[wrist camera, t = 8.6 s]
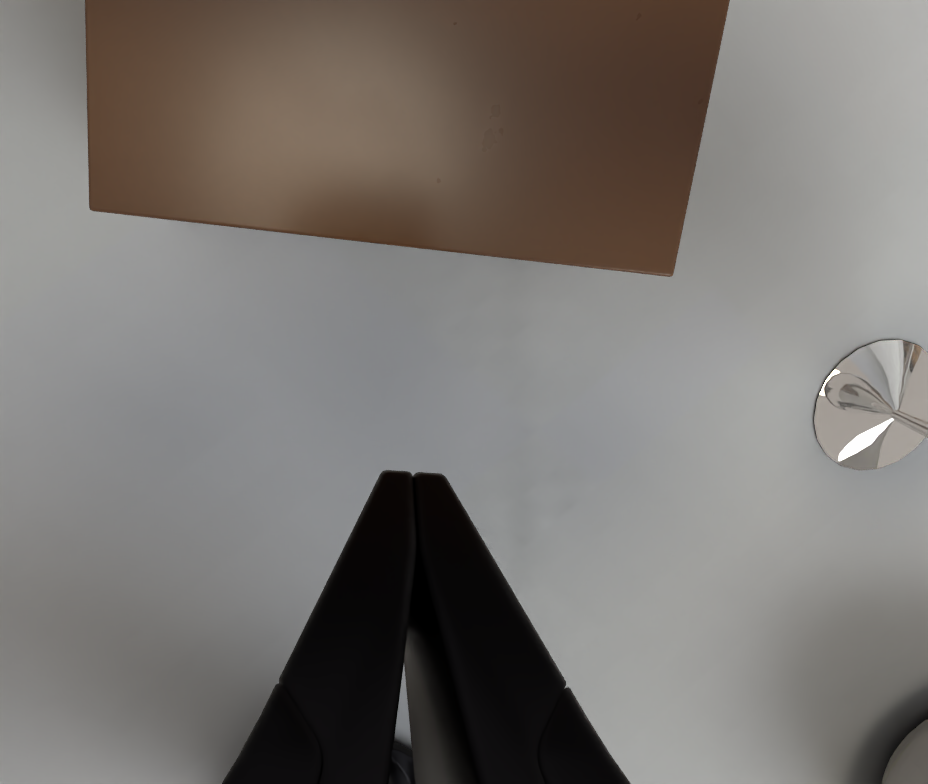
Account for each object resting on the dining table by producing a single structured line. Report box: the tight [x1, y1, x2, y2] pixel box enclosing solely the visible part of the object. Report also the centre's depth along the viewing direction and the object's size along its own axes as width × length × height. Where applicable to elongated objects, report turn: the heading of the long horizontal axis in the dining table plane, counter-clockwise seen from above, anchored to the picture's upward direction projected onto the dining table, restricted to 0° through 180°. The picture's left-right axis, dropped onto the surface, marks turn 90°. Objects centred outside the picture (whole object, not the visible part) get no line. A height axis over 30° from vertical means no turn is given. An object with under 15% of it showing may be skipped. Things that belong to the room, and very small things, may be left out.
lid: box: [85, 0, 730, 277], centre depth 15 cm, size 9×13×1 cm
